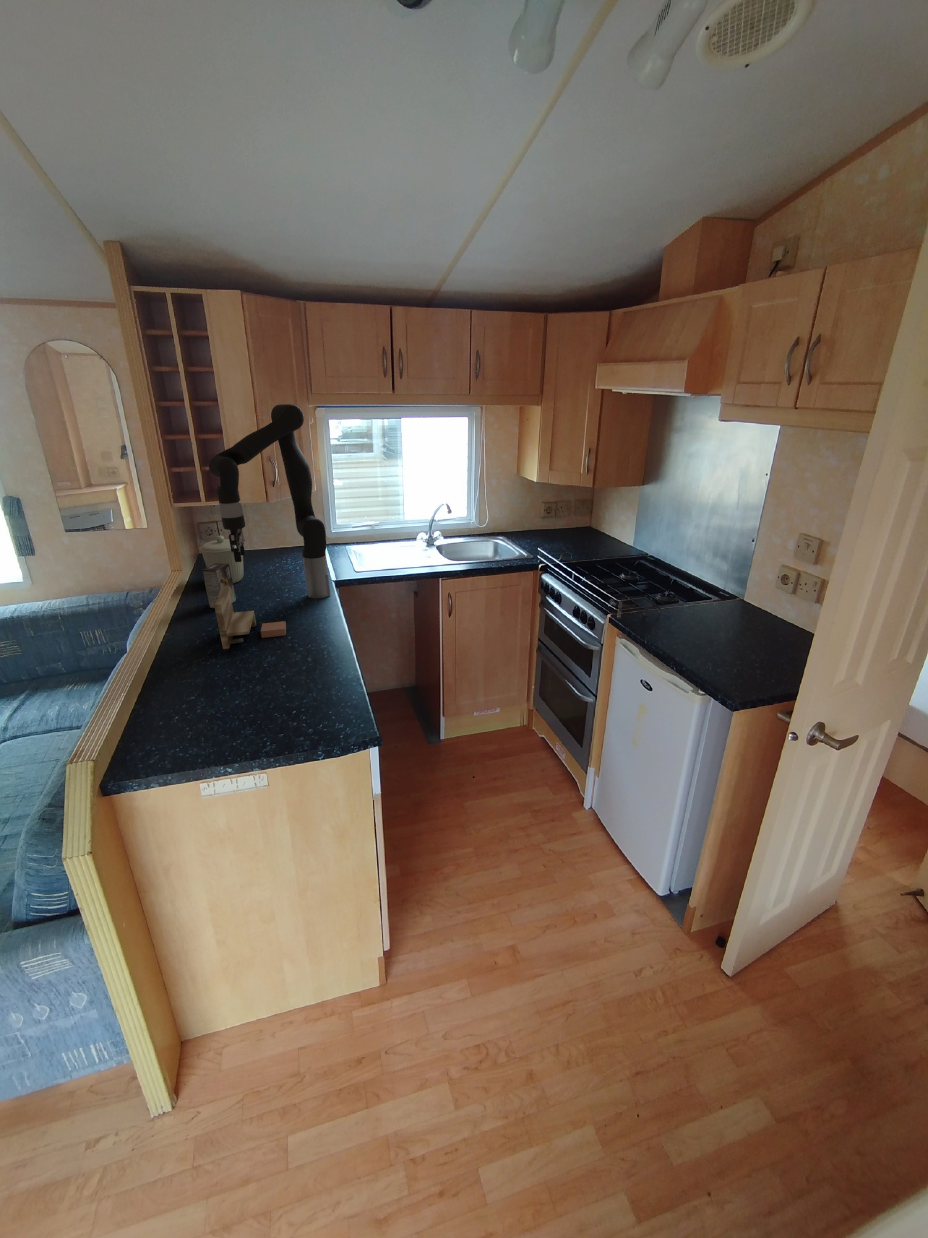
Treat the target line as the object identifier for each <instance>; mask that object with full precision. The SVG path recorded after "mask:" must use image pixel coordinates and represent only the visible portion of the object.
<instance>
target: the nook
mask: <svg viewBox="0 0 928 1238" xmlns="http://www.w3.org/2000/svg"><path fill="white" fill-rule="evenodd" d="M214 607H215V608H214V611H215V616H216V620H217V624H218V625H217V626H218V632H219V635H220V641H221V645H222V649H223V650H228V649H230V647H231V645H232V644H241V643H244V638H243V637H237V638H234V636H242V635H250V631H251V628H254V627H256V626H257V622H256V615H255V610H246V611H237V612H234V607H233V603H232V601H231V596H230V590H229V586H222V589H221V591H220V593H219V595H218V597H217V600H216V602H215V604H214Z"/></svg>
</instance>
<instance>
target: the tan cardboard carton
mask: <svg viewBox="0 0 928 1238" xmlns="http://www.w3.org/2000/svg"><path fill="white" fill-rule="evenodd" d="M286 634H287V623H286V621H274V622H266V623H263V622H262V624H261V628H260V636H261V639H264V638H272V637H282V636H283V637H284V636H286Z"/></svg>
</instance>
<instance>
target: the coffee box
mask: <svg viewBox="0 0 928 1238" xmlns="http://www.w3.org/2000/svg"><path fill="white" fill-rule="evenodd" d="M201 572H202V575H203V576H202V577H203V581H204V585H205V586H204V587H205V590H206V594H207V599H208V604H209V608H212V609H215V607H214V604H215V602H216V600H217V597H218V595H219V593H220V591H221V589H222V586H229V590H230V596H231V601H232V604H233V603H234V602H236V601H237V597H236V592H235V586H234V583H233V581H232V576H231V571H230V566H229V564H222V563H215V564H213V565H211V566H209V567H207V566H206V567H205V568H203V569H202V570H201Z"/></svg>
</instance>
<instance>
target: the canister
mask: <svg viewBox="0 0 928 1238" xmlns="http://www.w3.org/2000/svg"><path fill="white" fill-rule="evenodd" d="M234 548H237V547H236V546H235V547H234ZM199 551H200V552H201V554H202V557H203V560H204V563H205V567H206V568H207V567H209V566H211V565H213V564H215V563H222V564H229V566H230V571H231V576H232V581H233V584H236V583H238V582H240V581H242V579H243V578H244V555H242V556H241V559H242V561H241V562H235V558H234V553H233V552H231V547H230V541H229V538H226V539H225V536H223V535H217V536H216V537H215V540H212V541H208V542H205V543H204V544H202V545H201V546H199Z"/></svg>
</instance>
